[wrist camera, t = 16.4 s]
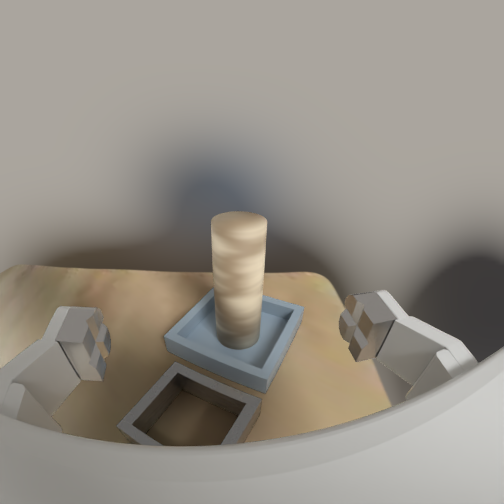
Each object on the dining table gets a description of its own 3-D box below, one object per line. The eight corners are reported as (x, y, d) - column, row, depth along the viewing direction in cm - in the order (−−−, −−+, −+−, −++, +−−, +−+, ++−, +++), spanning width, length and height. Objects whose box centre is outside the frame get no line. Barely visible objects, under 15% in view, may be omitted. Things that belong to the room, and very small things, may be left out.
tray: (167, 351, 29) (163, 336, 28) (219, 296, 38) (219, 281, 37) (265, 393, 24) (267, 379, 23) (301, 321, 34) (304, 306, 33)
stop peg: (208, 340, 30) (200, 225, 23) (229, 315, 34) (228, 208, 27) (248, 355, 28) (253, 236, 22) (266, 327, 32) (275, 217, 26)
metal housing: (127, 439, 18) (116, 425, 17) (179, 378, 25) (175, 361, 24) (213, 490, 15) (210, 484, 14) (259, 414, 22) (261, 399, 21)
